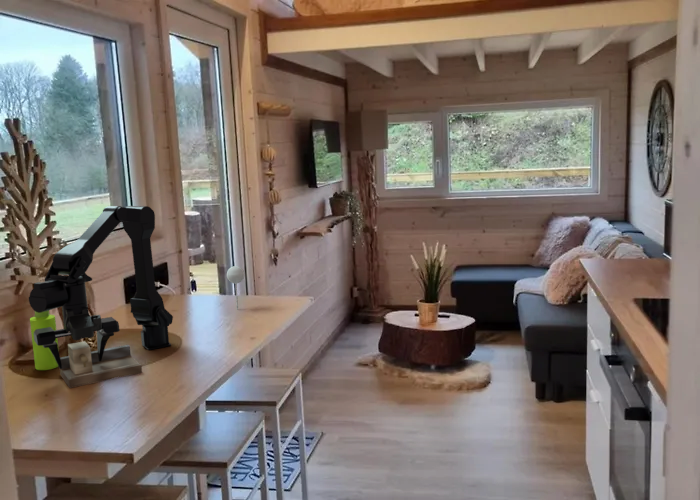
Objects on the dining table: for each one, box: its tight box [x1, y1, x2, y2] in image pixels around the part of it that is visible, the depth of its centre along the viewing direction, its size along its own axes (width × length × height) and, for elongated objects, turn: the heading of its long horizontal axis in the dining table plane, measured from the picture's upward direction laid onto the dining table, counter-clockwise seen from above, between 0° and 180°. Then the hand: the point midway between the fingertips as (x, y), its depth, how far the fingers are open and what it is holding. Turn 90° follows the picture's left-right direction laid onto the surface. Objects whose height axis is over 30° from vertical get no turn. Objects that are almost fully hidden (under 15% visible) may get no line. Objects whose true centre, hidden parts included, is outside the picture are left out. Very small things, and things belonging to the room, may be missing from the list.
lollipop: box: [226, 265, 245, 311], centre depth 225 cm, size 6×6×15 cm
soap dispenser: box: [29, 310, 59, 371], centre depth 171 cm, size 6×7×20 cm
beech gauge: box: [67, 341, 93, 374], centre depth 162 cm, size 4×9×6 cm, turn 33°
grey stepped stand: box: [59, 344, 143, 389], centre depth 166 cm, size 17×11×5 cm, turn 124°
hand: (80, 364), depth 164 cm, fingers open, 9 cm apart
